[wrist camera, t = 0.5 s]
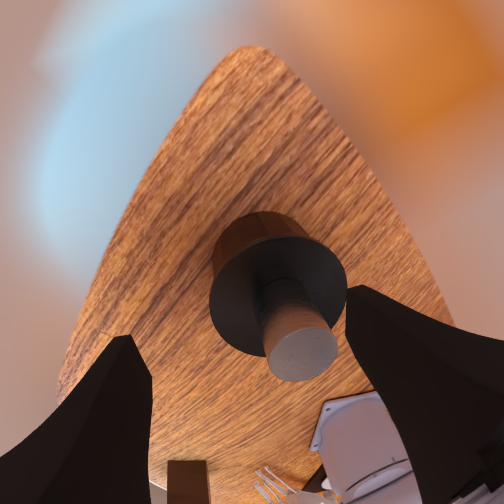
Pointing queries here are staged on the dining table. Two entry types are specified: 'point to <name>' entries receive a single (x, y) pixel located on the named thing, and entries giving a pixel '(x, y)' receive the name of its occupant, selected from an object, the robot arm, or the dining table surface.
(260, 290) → the lid
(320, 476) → the hamburger
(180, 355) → the dining table surface
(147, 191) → the dining table surface
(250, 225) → the cup
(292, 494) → the white flat pronged piece
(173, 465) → the stand
